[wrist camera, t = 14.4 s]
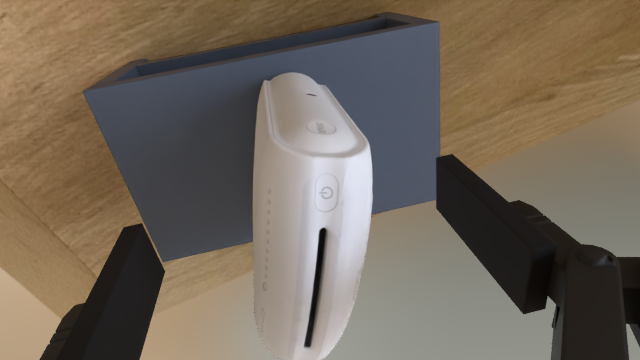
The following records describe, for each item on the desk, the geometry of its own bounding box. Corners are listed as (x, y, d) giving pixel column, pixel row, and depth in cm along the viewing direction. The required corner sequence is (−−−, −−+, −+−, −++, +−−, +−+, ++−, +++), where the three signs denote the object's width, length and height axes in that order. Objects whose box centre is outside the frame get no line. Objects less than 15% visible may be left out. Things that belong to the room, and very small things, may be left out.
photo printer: (255, 66, 21) (258, 153, 10) (331, 72, 22) (410, 159, 11) (250, 222, 25) (249, 398, 15) (313, 222, 26) (356, 389, 15)
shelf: (183, 197, 34) (162, 262, 26) (130, 61, 28) (82, 91, 20) (398, 150, 35) (440, 199, 27) (389, 11, 29) (439, 21, 21)
